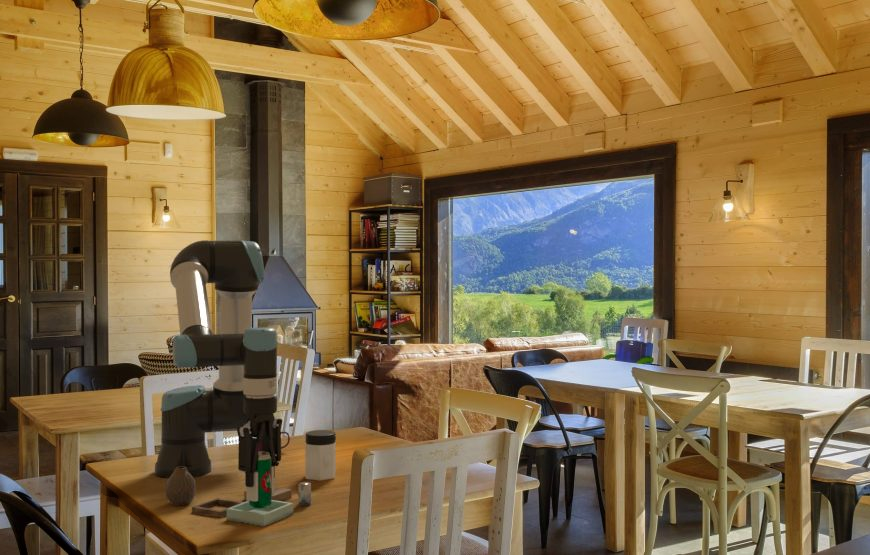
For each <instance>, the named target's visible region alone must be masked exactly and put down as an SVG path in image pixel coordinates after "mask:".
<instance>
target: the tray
mask: <svg viewBox="0 0 870 555" xmlns="http://www.w3.org/2000/svg"><path fill="white" fill-rule="evenodd" d="M242 502H243V503H241V504H238V505H235V506H233V507H231V506H229V507H230V508H229V507H227V508H228V509H227V508H226V509H227V515H226V521H231V522H238V523H241V522H244V523H243V524H247V523H249V525H253V524H254V525H253V526H258V525H259V526H261V527H266V526H268V525H271V524H273V523H276V522H278V521H280V520H282V519H285V518H287V517H290V516H293V514H294V503H292V502H288V501H276V500H272V503H271V504H270V506H268V507H265V508H253V507H251V506H250V505H249V501H248V500H245V501H242Z"/></svg>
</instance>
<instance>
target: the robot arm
mask: <svg viewBox="0 0 870 555" xmlns="http://www.w3.org/2000/svg"><path fill="white" fill-rule="evenodd" d="M259 245H260V244H258V243H257V242H256V241H252V240H251V241H250V240H242V239H241V240H239V239H238V240H208V239H207V240H206V239H205V240H204V239H203V240H198V241H195V242H192V243H190V244H188V245H186V246H185V247H184V248H182V249H180V251H179V252H178V253H177V254H176V256H175V257H174V259H173V261H172V263H171V265H170V271H169V276H170V277H169V278H170V283H171V285H172V286H173V288H174V289H175V295H176V305H177V306H176V307H177V316H178V318H177V319H178V325H179V326H178V327H179V335H175V336H174V337H173V339H172V359H173V364H174V366H175V367H176V368H177V367H178V368H190V369H192V368H193V369H195V368H205V367H206V368H209V367H218V379H216V380H215V381H214V382H213V384H212V385H213V386H212V390H210V389H209V390H206V387H205V386H204V385H201V384H200V385H187V386H182V387H177V388H173V389H170V390H168V391H166V392H164V393H163V394H162V397H161V407H160V412H161V426H160V427H161V430H160V431H161V432H160V433H161V434H160V435H161V436H160V437H161V438H160V439H161V442H160V444H161V446H160V449H159V451H158V456H157V459H156V462H155V463H154V475H156V476H158V477H161V478H168V479H169V478H170V476H171V475H172V474H173V472H174V471H175V468H176V467H179V466H185V467H186V468H187V470H188V472H189V473H190V474H191V475H192V477H193V478H194V477H198V476H202V475H205V474H208V473H209V472H211V471H212V460H211V459H210V457H209V453H208V449H207V448H208V447H207V445H206V436H205V435H206V433H218V432H219V433H221V432H236V433H237V436H238V457H237V458H238V459H237V461H238V462H237V463H238V467H237V468H238V471H240V472H244V473H245V477H244V478H245V482H244V483H245V484H244V485H245V487H246V490H245V491H246V500H245V501H248V500H249V501H255V502H256V501H258V472H255V470H256V464H257V458H258V451H259V445H260V442H261V443H262V449H263V451H264V452H269V453H270V456H271V458H272V495H274V487H275V476H276V474H275V473H276V472H275V471H276V470H275V469H276V468H275V467H279V465H280V462H281V460H282V449H281V447H282V434H281V432H282V426H283V419H282V418H275V413H276V412H277V411H278V397H277V396H276V394H277V393H278V391H277V390H278V383H277V377H278V374H277V373H278V344H279V341H278V336H277V334H278V332H277V330H276V329H275V328H274V327H265V326H264V327H258V326H257V327H252V318H253V317H252V310H253V308H252V306H253V303H252V302H253V295H254V294H256V292H258V290H259V288H258V287H259V285H260V284H262V283H264V281H265V266H264V260H263V259H264V258H263V254H262V251H261V248H260V246H259ZM207 284H214V290H215V291H216V292H217V293H218V294H219V296H220V297H219V298H220V300H219V301H220V303H219V304H220V305H219V333H216V334H215V333H214V332H213V331H214V330H213V326H212V325H213V324H212V318H211V312H210V305H209V298H208V292H207V286H206V285H207ZM250 466H251V467H250Z"/></svg>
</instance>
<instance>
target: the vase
mask: <svg viewBox="0 0 870 555" xmlns="http://www.w3.org/2000/svg"><path fill="white" fill-rule="evenodd" d="M196 487H197V486H196V481H195V478H194V476H193V477H192V475H191V474H190V473H189V472H188V470H187V468H186V467H185V466H179V467H176V468H175V471H174V472H173V474H172V475H171V476H170V478H168V480H167V482H166V485H165V493H166V498H167V500H168V502H169V503H170V504H171V505H172V506H178V507H179V506H180V507H181V506H186V505H189V504H190V503H191V502H192V501H193V499H194V498H195V496H196V489H197V488H196Z"/></svg>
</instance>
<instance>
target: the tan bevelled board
mask: <svg viewBox="0 0 870 555" xmlns="http://www.w3.org/2000/svg"><path fill="white" fill-rule="evenodd" d="M292 493H293V492H292V489H291V488H284V487H278V486H274V495H272V500H276V501H282V502H286V501H287V500H289V499H292ZM243 494H244V495H243V496H244V498H243V500H245V501H249V500H246V490H244V492H243Z"/></svg>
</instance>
